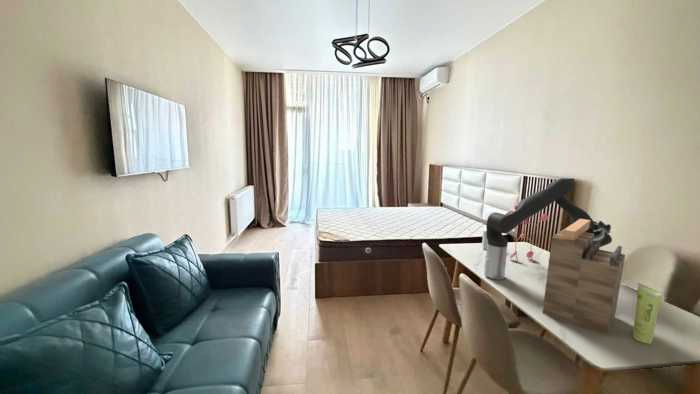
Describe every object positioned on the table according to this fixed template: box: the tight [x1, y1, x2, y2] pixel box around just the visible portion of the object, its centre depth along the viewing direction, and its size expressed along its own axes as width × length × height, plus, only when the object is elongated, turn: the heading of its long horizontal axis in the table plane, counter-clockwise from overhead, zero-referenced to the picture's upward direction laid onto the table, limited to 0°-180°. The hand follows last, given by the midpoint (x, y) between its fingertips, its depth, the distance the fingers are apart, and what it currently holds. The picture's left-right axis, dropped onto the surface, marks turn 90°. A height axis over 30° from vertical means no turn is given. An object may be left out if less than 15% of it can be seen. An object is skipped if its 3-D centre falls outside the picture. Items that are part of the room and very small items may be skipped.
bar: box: [563, 219, 590, 241], centre depth 121 cm, size 26×4×4 cm, turn 132°
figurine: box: [504, 201, 549, 263], centre depth 178 cm, size 15×26×35 cm, turn 94°
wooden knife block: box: [542, 228, 626, 336], centre depth 117 cm, size 18×20×32 cm
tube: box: [632, 282, 664, 344], centre depth 104 cm, size 6×5×20 cm
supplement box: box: [481, 227, 488, 250], centre depth 197 cm, size 7×7×13 cm
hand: (587, 221), depth 133 cm, fingers open, 8 cm apart
